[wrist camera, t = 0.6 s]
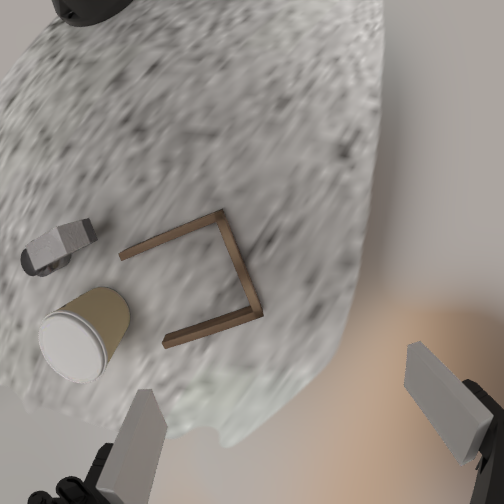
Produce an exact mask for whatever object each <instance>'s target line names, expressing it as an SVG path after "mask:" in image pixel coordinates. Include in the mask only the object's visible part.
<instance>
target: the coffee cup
mask: <svg viewBox="0 0 504 504" xmlns="http://www.w3.org/2000/svg"><path fill="white" fill-rule="evenodd" d="M129 322H130V311H129V308H128V305H127V303H126V302H125V300H124V299H123V298H122V296H121V295H120V294H118V293H117V292H116V291H114V290H112V289H109V288H106V287H98V288H94V289H92V290H90V291H88V292H86V293H85V294H83V295H81V296H79V297H78V298H76V299H74V300H73V301H71V302H69V303H68V304H66V305H64V306H63V307H61V308H59V309H58V310H56V311H53V312H51V313H49V314H48V315H47V316H46V317H45V318H44V319H43V321H42V323H41V326H40V330H39V345H40V348H41V351H42V354H43V356H44V357H45V359H46V361H47V362H48V364H49V365H50V366H51V367H52V368H53V369H54V370H55V371H56V372H57V373H58V374H59V375H61V376H62V377H64V378H65V379H67V380H70V381H72V382H76V383H89V382H93V381H95V380H97V379H99V378H100V377H101V376H102V375H103V373H104V372H105V370H106V367H107V364H108V362H109V361H110V359H111V357H112V355H113V353H114V352H115V350H116V348H117V346H118V344H119V343H120V341H121V339H122V337H123V335H124V334H125V332H126V330H127V328H128V326H129Z"/></svg>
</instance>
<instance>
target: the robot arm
mask: <svg viewBox="0 0 504 504" xmlns="http://www.w3.org/2000/svg"><path fill="white" fill-rule="evenodd" d="M131 1H132V0H52V2H53V5H54V8H55V11H56V13H57V15H58V16H59V17H60V18H61V19H62V20H64V21H65V22H66V23H67V24H69V25H72V26H79V27H80V26H89V25H93V24H96V23H99V22H101V21H104V20H106V19H108V18H110V17H112V16H113V15H115V14H116V13H118V12H119V11H121V10H122V9H123V8H125V7H126V6H127V5H128V4H129V3H130V2H131ZM404 387H405V388H406V389H407V391H408V392H409V394H410V395H411V396H412V398H413V399H414V400H415V402H416V403H417V405H418V406H419V407H420V409H421V410H422V412H423V413H424V414H425V416H426V417H427V418H428V420H429V421H430V423H431V424H432V425H433V427H434V428H435V430H436V431H437V433H438V434H439V435H440V436H441V438H442V440H443V441H444V443H445V444H446V446H447V447H448V448H449V450H450V451H451V453H452V454H453V456H454V457H455V459H456V460H457V462H458V463H459V464H460V466H462V465H464V464H466V463H468V462H470V461H472V460H474V459H475V457H476V455H477V453H478V451H480V453H481V454H482V457H481V459H480V461H479V463H478V465H477V467H476V470H478V474H477V478H476V482H475V486H474V491H473V494H472V498H471V501H470V504H504V409H502V407H501V406H500V405H499V404H498V403H497V402H496V401H494V399H493V398H492V397H491V396H489V395H488V394H487V392H485V391H484V390H483V389H482V388H481V387H480V386H479V385H478V384H477V383H476V382H473V381H471V380H469V379H467V380H464V381H462V382H461V381H460V380H459V379H458V378H457V377H456V376H455V375H454V374H453V373H452V372H451V371H450V370H449V369H448V368H447V367H446V366H445V365H444V364H443V363H442V362H441V361H440V360H439V359H438V358H437V357H436V356H435V355H434V354H433V353H432V352H431V351H430V350H429V349H428V348H427V347H426V346H425V345H424V344H423V343H422V342H421V341H419V342H416V343H412V344H409V345H408V349H407V361H406V371H405V380H404ZM167 428H168V426H167V424H166V422H165V419H164V417H163V415H162V413H161V410H160V408H159V406H158V403H157V401H156V398H155V396H154V394H153V391H152V389H140V390H138V391H137V393H136V396H135V398H134V400H133V402H132V404H131V406H130V409H129V411H128V413H127V415H126V417H125V420H124V422H123V424H122V426H121V429H120V431H119V433H118V435H117V438H116V440H115V442H114V444H113V443H105V445H103V446H102V447H101V448H100V449H99V450H98V453H97V455H96V457H95V460H94V461H93V463H92V466H91V468H90V470H89V472H88V474H87V476H86V479H85V481H84V483H83V482H82V480H81V479H79V478H77V477H73V476H69V477H65V478H64V479H62V480H60V481H59V483H58V484H57V486H56V493H57V494H58V495H59V496H60V498H52V497H51V496H50V495H49V494H48V493H47V492H45V491H37V492H34V493H33V494H31V496H30V497H29V499H28V504H148V500H149V496H150V492H151V488H152V484H153V481H154V477H155V473H156V469H157V465H158V461H159V457H160V454H161V450H162V446H163V443H164V439H165V435H166V432H167ZM478 468H479V469H478Z"/></svg>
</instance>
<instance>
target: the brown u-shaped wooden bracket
mask: <svg viewBox="0 0 504 504" xmlns="http://www.w3.org/2000/svg"><path fill="white" fill-rule="evenodd" d="M214 222H217V225H218V227H219V230H220V232H221V235H222V237H223V240H224V242H225V244H226V247H227V249H228V252H229V254H230V257H231V259H232V262H233V264H234V267H235V269H236V271H237V274H238V276H239V279H240V281H241V284H242V286H243V288H244V291H245V293H246V296H247V298H248V300H249V303H250V305H251V306H248V307H245V308H242V309H240V310H237V311H234V312H231V313H228V314H225V315H223V316H220V317H217V318H214V319H211V320H208V321H205V322H202V323H199V324H196V325H193V326H190V327H187V328H184V329H181V330H178V331H175V332H172V333H169V334H166V335H165V337H164V339H163V341H162V344H163V346H164V348H165V349H167V348H170V347H174V346H177V345H180V344H183V343H186V342H190V341H193V340H196V339H199V338H202V337H205V336H208V335H211V334H214V333H217V332H220V331H223V330H226V329H229V328H232V327H235V326H238V325H241V324H243V323H246V322H249V321H252V320H255V319H258V318H260V317H263V316H264V315H263V308H262V306H261V304H260V301H259V299H258V296H257V294H256V291H255V289H254V286H253V284H252V281H251V279H250V276H249V274H248V271H247V269H246V266H245V264H244V261H243V259H242V256H241V254H240V251H239V249H238V246H237V244H236V241H235V239H234V236H233V234H232V231H231V229H230V226H229V224H228V221H227V219H226V216H225V214H224V211H223V209H221V210H219V211H216V212H214V213H211V214H209V215H206V216H204V217H201V218H199V219H196V220H194V221H191V222H189V223H186V224H184V225H182V226H179V227H177V228H174V229H172V230H170V231H167V232H165V233H162V234H160V235H158V236H155V237H153V238H151V239H148V240H146V241H144V242H141V243H139V244H137V245H135V246H132V247H130V248H128V249H125V250H124V251H122V252H120V253H119V257H120V259H121V261H123V260H125V259H127V258H130V257H132V256H134V255H137V254H139V253H141V252H144V251H146V250H148V249H151V248H153V247H156V246H158V245H160V244H163V243H165V242H168V241H170V240H172V239H175V238H177V237H180V236H182V235H185V234H187V233H190V232H192V231H194V230H197V229H199V228H202V227H204V226H207V225H209V224H212V223H214Z"/></svg>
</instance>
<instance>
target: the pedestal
mask: <svg viewBox="0 0 504 504" xmlns="http://www.w3.org/2000/svg"><path fill="white" fill-rule="evenodd" d="M33 241H34V240H33ZM31 242H32V241H31ZM70 259H71V254H69V255H67V256H65V257H63V258H61V259H59V260H57V261H55V262H53V263H52V264H50V265H48V266H47V268H46V269H45V270H44V271H43V272H41V273H39V274H37V276H40V277H44V276H47V275H49V274H51V273H52V272H54V271H56V270H58V269H60V268H62V267H64V266H66V265H67V264H68V263H69V261H70Z"/></svg>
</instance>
